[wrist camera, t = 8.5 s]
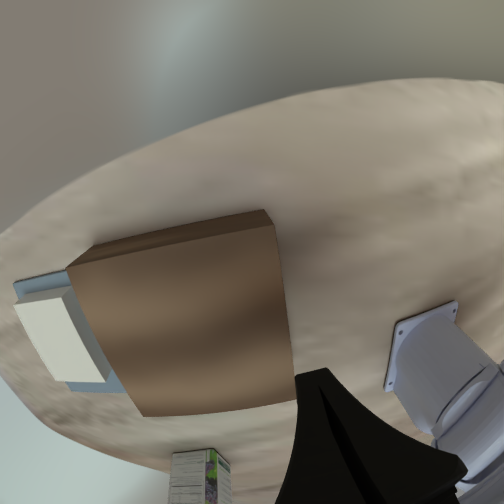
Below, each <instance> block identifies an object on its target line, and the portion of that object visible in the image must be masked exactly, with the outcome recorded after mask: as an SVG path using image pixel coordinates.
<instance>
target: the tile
mask: <svg viewBox="0 0 504 504" xmlns="http://www.w3.org/2000/svg"><path fill="white" fill-rule="evenodd" d="M14 308H15V310H16V312H17V314H18V316H19V318H20V320H21V322H22V324H23V326H24V328H25V330H26V332H27V334H28V336H29V338H30V339H31V341H32V343H33V345H34V347H35V348H36V350H37V352H38V353H39V355H40V357H41V358H42V360H43V362H44V363H45V365H46V366H47V368H48V370H49V371H50V373H51V374H52V376H53V377H54V379H55V380H56V381H68V382H106V381H107V379H108V376H109V374H110V372H111V369H112V367H111V365H110V364H109V362H108V360H107V358H106V357H105V355H104V353H103V351H102V349H101V347H100V345H99V344H98V342H97V340H96V338H95V336H94V334H93V332H92V330H91V328H90V326H89V323H88V321H87V319H86V317H85V315H84V313H83V311H82V308H81V306H80V304H79V301H78V299H77V297H76V294H75V292H74V290H73V287H72V285H71V286H66V287H60V288H55V289H49V290H44V291H39V292H33V293H28V294H25V295H24V296H23V297H22V298H20V299H19V300H18V301H17V302H16V303H15V304H14Z"/></svg>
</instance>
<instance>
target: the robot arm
mask: <svg viewBox="0 0 504 504" xmlns="http://www.w3.org/2000/svg"><path fill="white" fill-rule="evenodd" d="M457 309H458V302H457V301H453V302H450V303H448V304H445V305H443V306H441V307H438V308H436V309H433V310H431V311H428V312H425V313H423V314H420V315H417V316H415V317H412V318H409V319H406V320H404V321H401V322H399V323H398V324H397V325H396V327H395V333H394V339H393V345H392V351H391V357H390V362H389V367H388V372H387V377H386V382H385V386H384V391H385V392H389V391H392V390H393V391H394V392H395V394H396V395H397V397H398V399H399V400H400V402H401V403H402V405H403V407H404V408H405V410H406V412H407V413H408V415H409V417H410V418H411V420H412V421H413V423H414V425H415V426H416V427H417V428H418V429H419V430H421V431H423V432H425V433H427V434H432V435H433V436H434V437H435V438H434V439H433V441H432V442H431V446H429V445H426V444H424V443H421V442H419V441H417V440H415V439H413V438H411V437H409V436H407V435H405V434H403V433H401V432H400V431H398V430H396V429H395V428H393V427H392V426H390V425H389V424H387V423H386V422H384V421H383V420H381V419H380V418H379V417H377V416H376V415H375V414H373V413H372V412H371V411H370V410H368V409H367V408H366V407H365V406H364V405H362V404H361V403H360V402H359V401H358V400H357V399H356V398H355V397H354V396H353V395H352V394H351V393H350V392H349V391H348V390H347V389H346V388H345V387H344V386H343V385H342V384H341V383H340V382H339V381H338V380H337V379H336V377H335V376H334V375H333V374H332V373H331V371H330V370H329V369H328V368H322V369H318V370H314V371H310V372H306V373H302V374H297V375H296V376H295V377H294V379H295V388H296V398H297V405H298V412H297V425H296V433H295V439H294V445H293V450H292V454H291V458H290V462H289V465H288V469H287V472H286V476H285V479H284V481H283V484H282V487H281V489H280V492H279V495H278V497H277V499H276V502H275V504H504V360H503V361H502V362H501V363H500V365H499V364H496V363H495V362H494V361H493V360H492V359H491V358H490V357H489V356H488V355H487V354H486V353H485V352H484V351H483V350H482V349H481V348H480V347H479V346H478V345H477V344H476V343H475V342H474V341H473V340H472V339H471V338H469V337H468V336H467V335H466V334H465V333H464V332H463V331H462V330H461V329H460V328H459V327H458V326H456V325H455V324H454V321H455V317H456V313H457ZM455 486H456V487H458V488H460V489H461V490H463V491H464V492H465V494H463V495H462V496H460V497H459V498H457V497H456V495H455V493H456V492H457V489H456V487H455Z"/></svg>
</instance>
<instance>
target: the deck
mask: <svg viewBox="0 0 504 504" xmlns="http://www.w3.org/2000/svg"><path fill="white" fill-rule="evenodd" d="M65 269H66V271H67V274H68V277H69V279H70V282H71V285H72V287H73V290H74V292H75V294H76V297H77V299H78V301H79V304H80V306H81V308H82V311H83V313H84V315H85V317H86V319H87V321H88V323H89V326H90V328H91V330H92V332H93V334H94V336H95V338H96V340H97V342H98V344H99V345H100V347H101V349H102V351H103V353H104V355H105V357H106V358H107V360H108V362H109V364H110V365H111V367H112V369H113V371H114V372H115V374H116V376H117V377H118V379H119V381H120V382H121V384H122V385H123V387H124V389H125V390H126V392H127V393H128V395H129V396H130V398H131V399H132V401H133V402H134V404H135V405H136V407H137V408H138V410H139V411H140V413H141V414H142V415H143V417H162V416H184V415H198V414H209V413H219V412H227V411H235V410H242V409H248V408H255V407H260V406H266V405H271V404H277V403H282V402H286V401H291V400H296V399H297V398H296V388H295V379H294V368H293V359H292V351H291V342H290V334H289V326H288V318H287V310H286V303H285V295H284V288H283V280H282V273H281V266H280V259H279V252H278V245H277V238H276V232H275V225H274V223H273V222H272V220H271V219H270V217H269V216H268V215H267V213H266V212H265V210H264V209H263V210H258V211H252V212H247V213H241V214H236V215H231V216H226V217H220V218H215V219H210V220H205V221H201V222H196V223H191V224H186V225H181V226H177V227H172V228H167V229H163V230H158V231H154V232H149V233H145V234H141V235H136V236H132V237H128V238H124V239H119V240H115V241H111V242H107V243H103V244H99V245H95V246H92V247H91V248H90V249H88V250H87V251H86V252H84V253H83V254H82V255H81V256H79V257H78V258H77V259H76V260H74V261H73V262H72V263H71V264H69V265H68V266H67V267H66V268H65Z"/></svg>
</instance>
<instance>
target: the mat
mask: <svg viewBox="0 0 504 504" xmlns="http://www.w3.org/2000/svg"><path fill="white" fill-rule="evenodd" d="M13 286H14V289H15V291H16V293H17V296H18V298H19V299H20V298H22V297H23V296H24V295H25V294H28V293H33V292H39V291H44V290H49V289H55V288H60V287H66V286H71V282H70V279H69V277H68V274H67V271H66V270H63V271H59V272H55V273H50V274H46V275H42V276H38V277H34V278H29V279H25V280H21V281H17V282H14V283H13ZM65 383H66V384H67V385H68V387H69V388H70V390H71V391H75V392H99V393H127V392H126V390H125V389H124V387H123V385H122V384H121V382H120V381H119V379H118V377H117V376H116V374H115V372H114V371H113V369H111V372H110V374H109V376H108V379H107V381H106V382H68V381H65Z"/></svg>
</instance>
